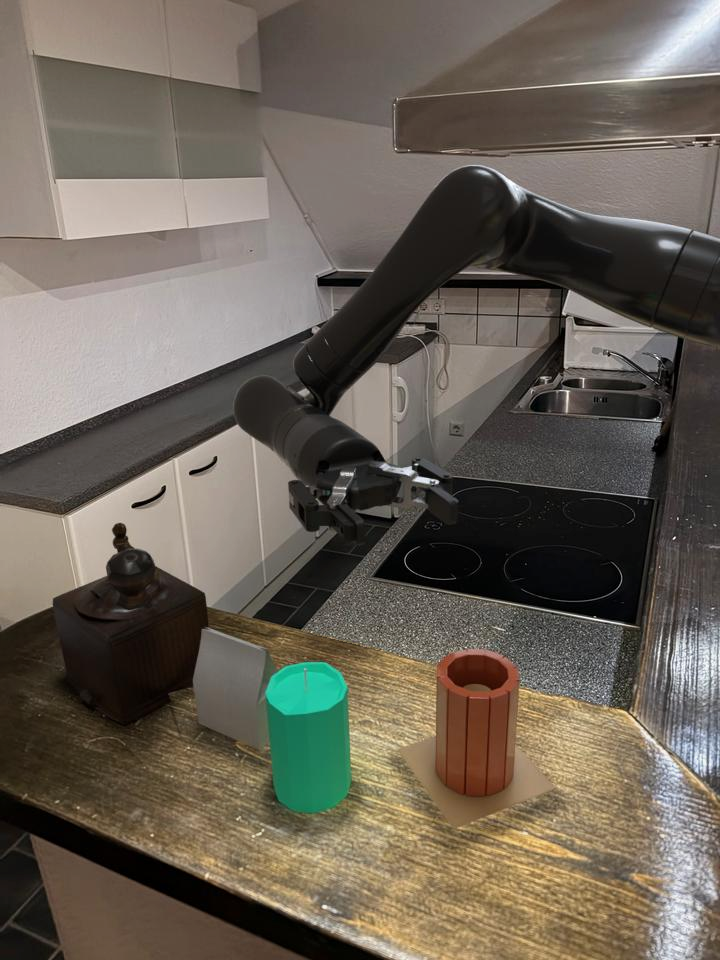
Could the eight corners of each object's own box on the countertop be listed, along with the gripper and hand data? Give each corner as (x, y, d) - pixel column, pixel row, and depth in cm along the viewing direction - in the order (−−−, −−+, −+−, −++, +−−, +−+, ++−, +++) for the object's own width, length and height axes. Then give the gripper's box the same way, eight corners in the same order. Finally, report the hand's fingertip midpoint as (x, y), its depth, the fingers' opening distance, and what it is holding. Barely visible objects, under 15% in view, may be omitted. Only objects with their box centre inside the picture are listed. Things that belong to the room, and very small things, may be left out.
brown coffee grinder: (58, 685, 73) (21, 515, 67) (156, 635, 81) (132, 478, 74) (149, 760, 63) (117, 570, 57) (251, 696, 71) (234, 521, 64)
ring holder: (490, 730, 66) (494, 647, 63) (555, 803, 58) (563, 712, 55) (396, 763, 62) (395, 677, 59) (452, 844, 55) (455, 751, 52)
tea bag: (261, 764, 63) (252, 663, 59) (200, 736, 66) (187, 638, 62) (288, 737, 66) (280, 639, 62) (228, 712, 69) (217, 617, 65)
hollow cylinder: (485, 732, 63) (489, 641, 60) (528, 781, 58) (535, 683, 55) (421, 754, 61) (422, 661, 58) (460, 807, 56) (463, 707, 53)
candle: (299, 761, 63) (290, 637, 58) (365, 783, 61) (360, 656, 56) (259, 812, 58) (246, 682, 54) (329, 839, 56) (321, 705, 51)
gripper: (260, 435, 72) (327, 498, 58) (395, 414, 77) (484, 467, 64) (266, 508, 75) (330, 584, 61) (395, 482, 80) (480, 546, 67)
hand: (408, 524), depth 62 cm, fingers open, 8 cm apart
